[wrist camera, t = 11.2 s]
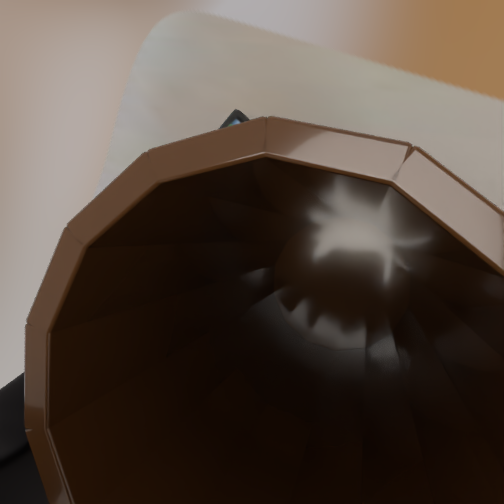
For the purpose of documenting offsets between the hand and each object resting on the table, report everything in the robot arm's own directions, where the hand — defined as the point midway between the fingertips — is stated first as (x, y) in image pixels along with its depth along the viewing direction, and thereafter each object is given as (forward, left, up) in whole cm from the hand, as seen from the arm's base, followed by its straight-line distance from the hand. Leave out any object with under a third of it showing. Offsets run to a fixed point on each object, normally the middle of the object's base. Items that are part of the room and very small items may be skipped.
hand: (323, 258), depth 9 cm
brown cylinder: (-1, -1, -7) cm, 7 cm away
